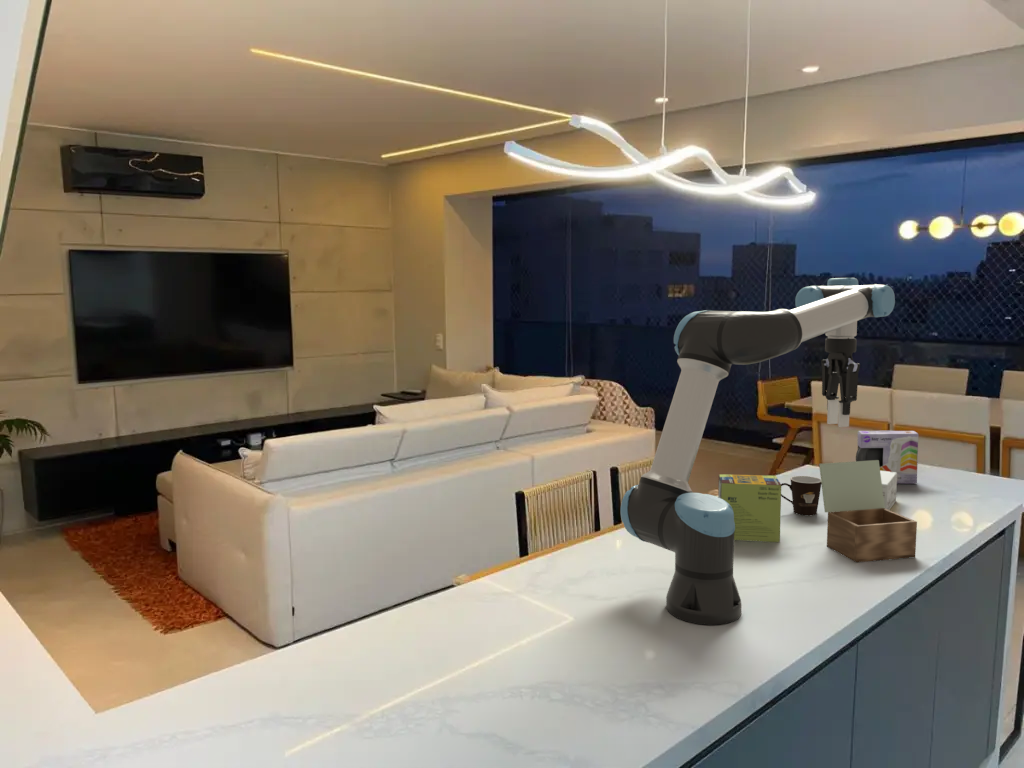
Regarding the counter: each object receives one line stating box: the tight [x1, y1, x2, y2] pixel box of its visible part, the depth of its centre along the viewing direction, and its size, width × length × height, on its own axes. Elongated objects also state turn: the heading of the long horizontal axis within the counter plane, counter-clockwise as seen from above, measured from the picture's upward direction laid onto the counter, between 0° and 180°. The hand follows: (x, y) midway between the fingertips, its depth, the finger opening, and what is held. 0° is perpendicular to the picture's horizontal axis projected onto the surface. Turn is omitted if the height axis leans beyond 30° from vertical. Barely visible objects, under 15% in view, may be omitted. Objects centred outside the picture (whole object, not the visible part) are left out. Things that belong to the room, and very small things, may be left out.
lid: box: [818, 460, 885, 513], centre depth 193 cm, size 17×12×1 cm
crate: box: [826, 508, 918, 564], centre depth 186 cm, size 16×12×9 cm
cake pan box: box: [855, 430, 919, 484], centre depth 252 cm, size 19×5×18 cm, turn 81°
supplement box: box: [864, 471, 898, 511], centre depth 227 cm, size 17×13×9 cm
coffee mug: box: [780, 475, 822, 517], centre depth 221 cm, size 12×9×10 cm
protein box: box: [717, 474, 782, 543], centre depth 200 cm, size 10×15×16 cm
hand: (837, 425), depth 198 cm, fingers open, 4 cm apart
